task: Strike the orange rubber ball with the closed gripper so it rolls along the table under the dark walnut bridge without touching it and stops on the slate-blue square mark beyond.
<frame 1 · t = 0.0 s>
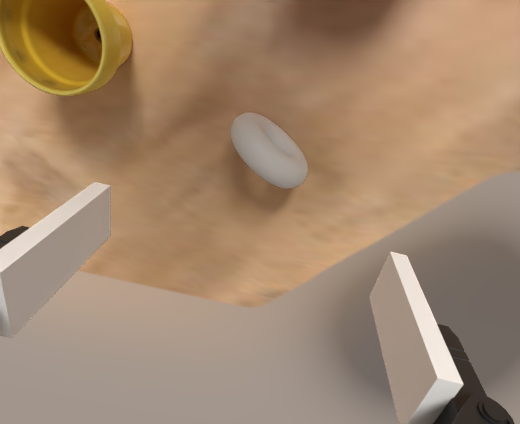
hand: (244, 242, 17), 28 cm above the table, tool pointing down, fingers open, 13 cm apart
plant pot: (105, 34, 40), on the table
donut: (274, 137, 43), on the table
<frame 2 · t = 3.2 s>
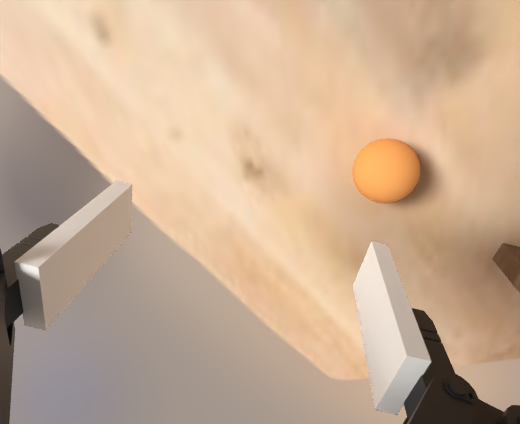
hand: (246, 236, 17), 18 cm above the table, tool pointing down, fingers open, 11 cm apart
ball: (385, 171, 31), on the table
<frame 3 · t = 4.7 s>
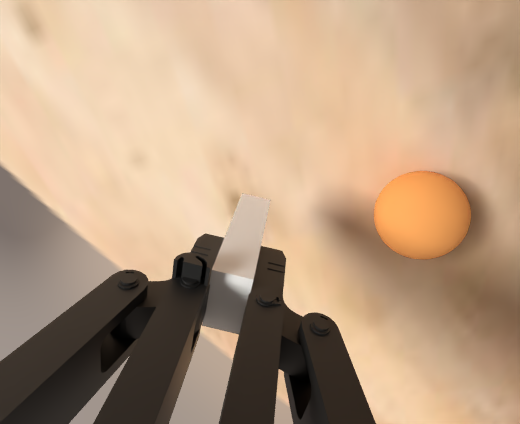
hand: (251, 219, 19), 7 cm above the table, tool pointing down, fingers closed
ball: (419, 215, 22), on the table
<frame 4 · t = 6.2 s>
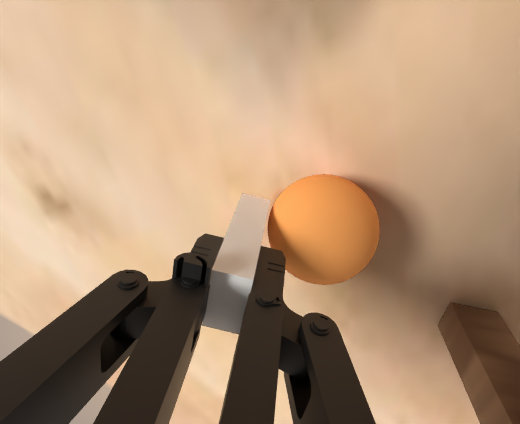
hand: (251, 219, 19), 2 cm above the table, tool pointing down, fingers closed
bridge: (516, 238, 20), on the table
ball: (322, 229, 18), on the table
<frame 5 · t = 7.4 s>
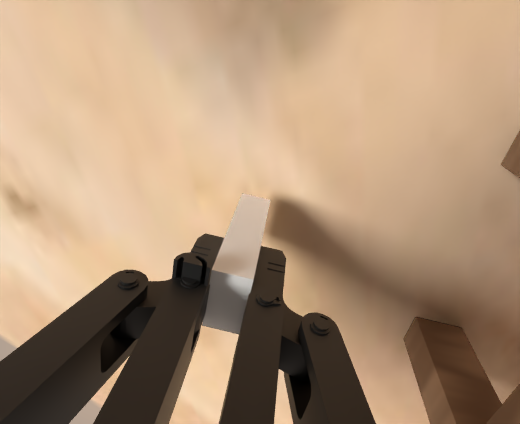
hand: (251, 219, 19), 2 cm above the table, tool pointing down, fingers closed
bridge: (479, 256, 20), on the table
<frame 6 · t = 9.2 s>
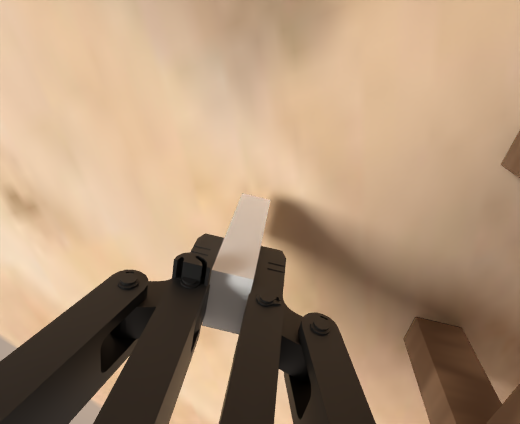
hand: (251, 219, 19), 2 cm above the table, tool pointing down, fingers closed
bridge: (479, 256, 20), on the table
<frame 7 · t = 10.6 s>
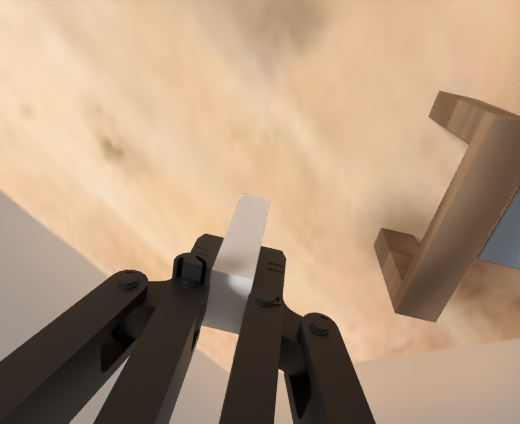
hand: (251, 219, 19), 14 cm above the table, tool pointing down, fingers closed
bridge: (420, 180, 31), on the table
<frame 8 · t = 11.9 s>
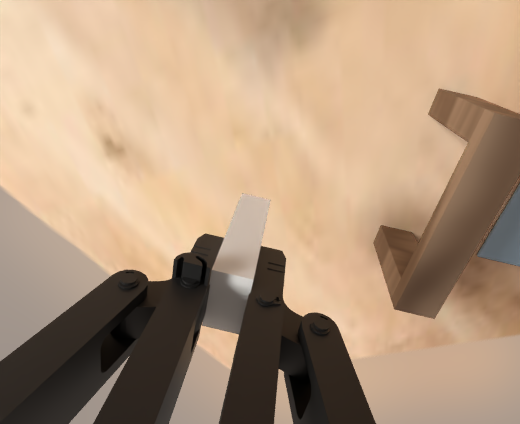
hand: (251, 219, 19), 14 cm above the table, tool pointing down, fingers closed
bridge: (419, 178, 31), on the table
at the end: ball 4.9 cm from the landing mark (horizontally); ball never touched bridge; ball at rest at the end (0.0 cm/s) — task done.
